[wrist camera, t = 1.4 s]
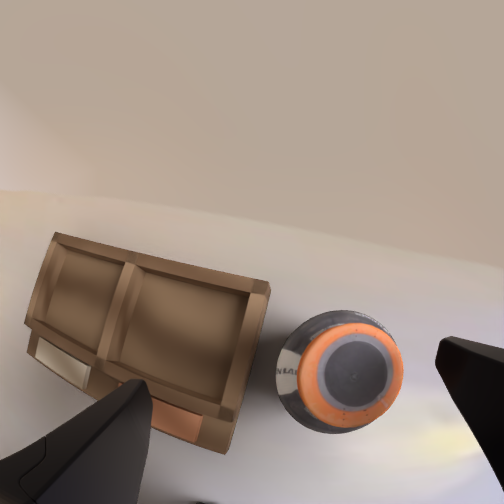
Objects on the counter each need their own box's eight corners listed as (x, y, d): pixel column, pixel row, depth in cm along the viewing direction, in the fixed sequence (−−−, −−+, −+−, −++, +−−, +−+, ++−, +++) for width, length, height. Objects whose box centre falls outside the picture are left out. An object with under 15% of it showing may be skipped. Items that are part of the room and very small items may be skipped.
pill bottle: (268, 391, 19) (243, 423, 9) (297, 318, 21) (303, 272, 11) (343, 416, 18) (393, 465, 7) (371, 342, 20) (444, 319, 9)
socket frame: (228, 450, 18) (220, 460, 16) (34, 353, 22) (18, 350, 20) (271, 290, 22) (268, 281, 20) (69, 241, 27) (55, 231, 24)
